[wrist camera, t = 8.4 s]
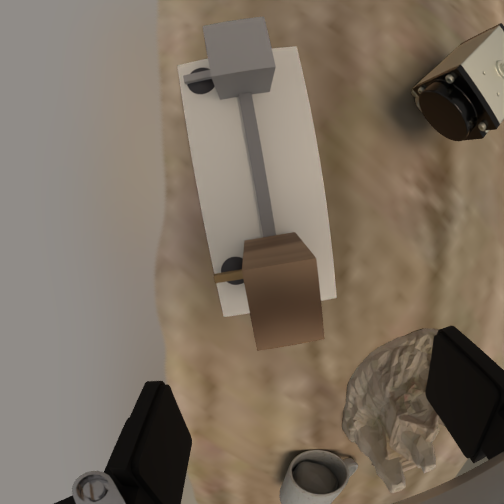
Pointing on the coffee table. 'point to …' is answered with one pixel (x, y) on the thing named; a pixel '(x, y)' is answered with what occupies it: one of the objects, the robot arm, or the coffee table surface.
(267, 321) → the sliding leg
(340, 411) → the coffee table surface
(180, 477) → the robot arm
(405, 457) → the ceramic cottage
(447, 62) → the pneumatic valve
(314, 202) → the board
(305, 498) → the ceramic mug
